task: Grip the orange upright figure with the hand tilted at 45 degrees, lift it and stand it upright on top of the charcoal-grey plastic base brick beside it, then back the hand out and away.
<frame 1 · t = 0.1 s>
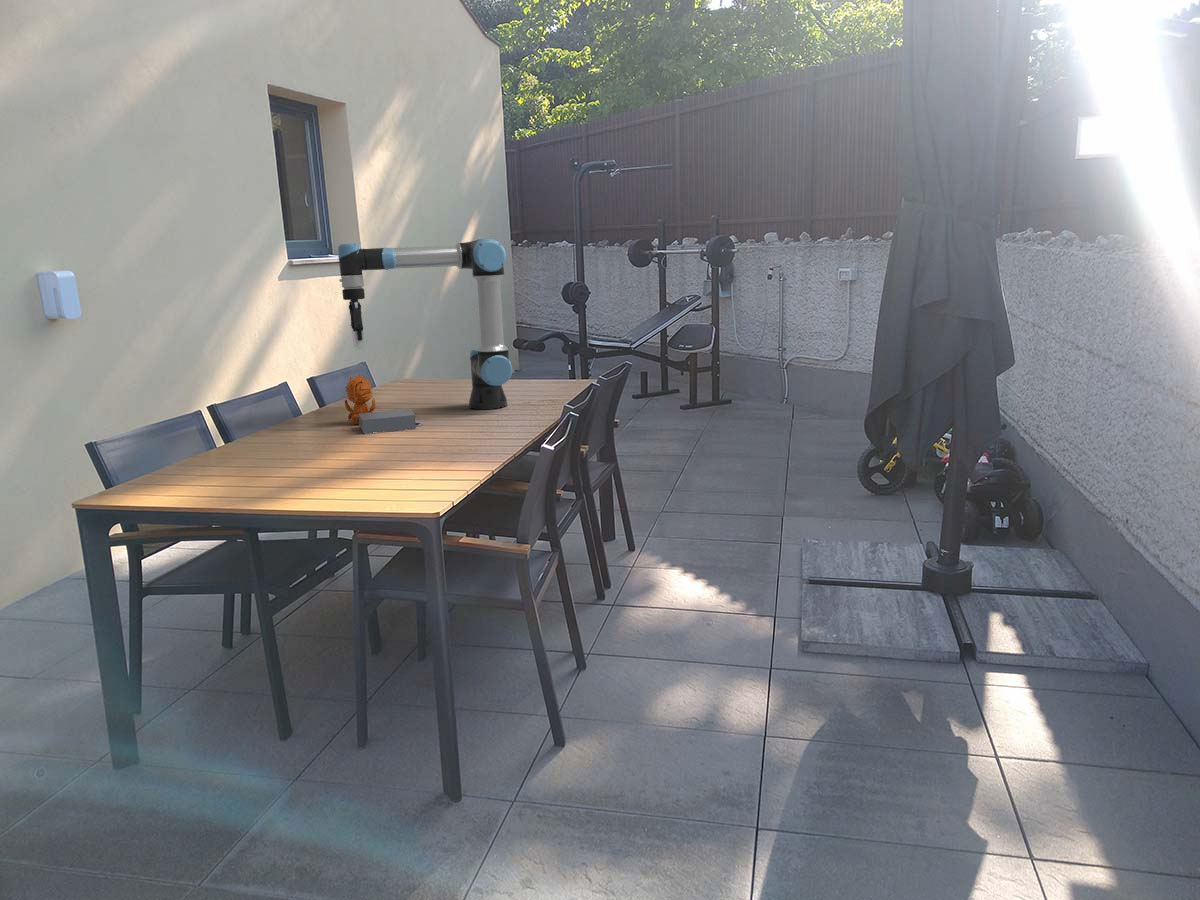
hand: (359, 348, 324), 28 cm above the table, tool pointing down, fingers open, 13 cm apart
orange upright figure: (362, 423, 333), on the table
base brick: (387, 428, 322), on the table
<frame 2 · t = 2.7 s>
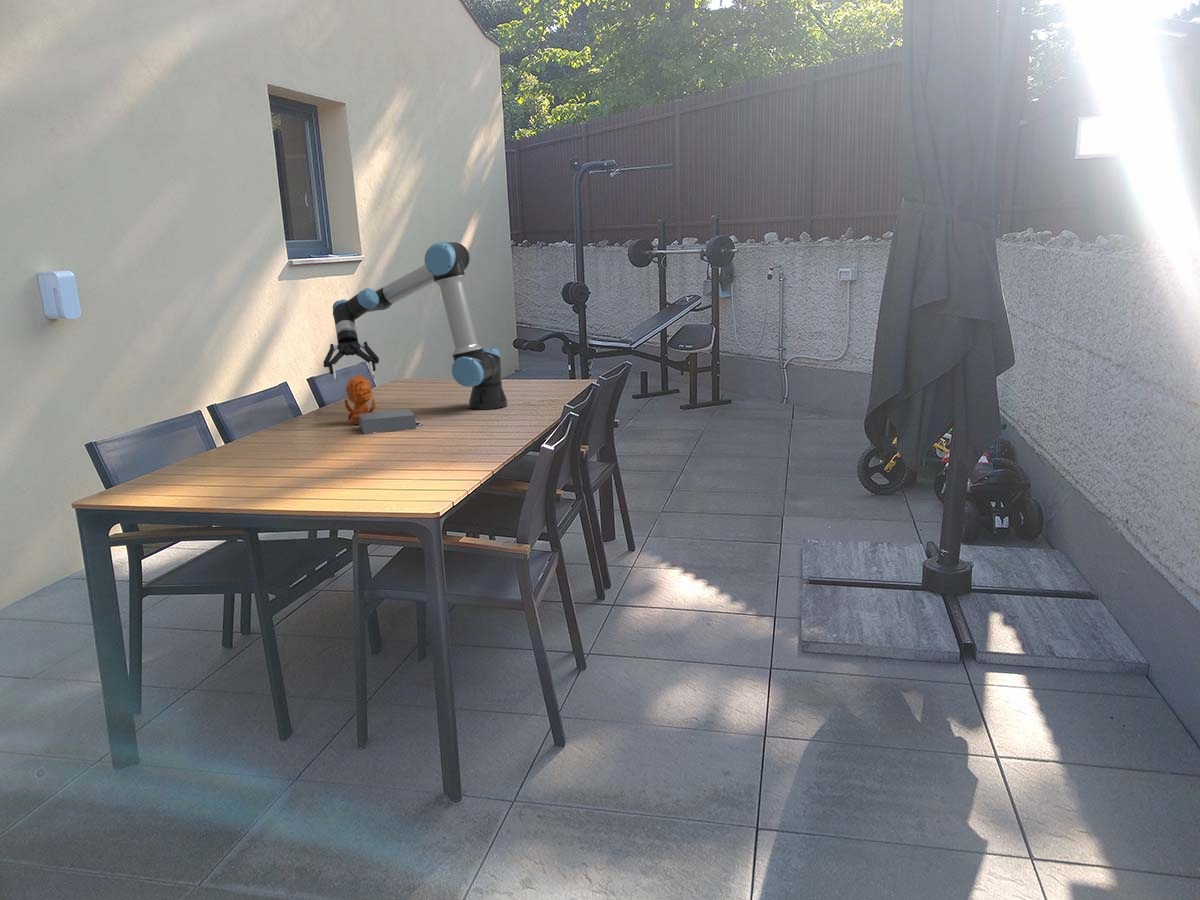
hand: (354, 378, 337), 16 cm above the table, tool tilted 45°, fingers open, 13 cm apart
nothing on the table moved.
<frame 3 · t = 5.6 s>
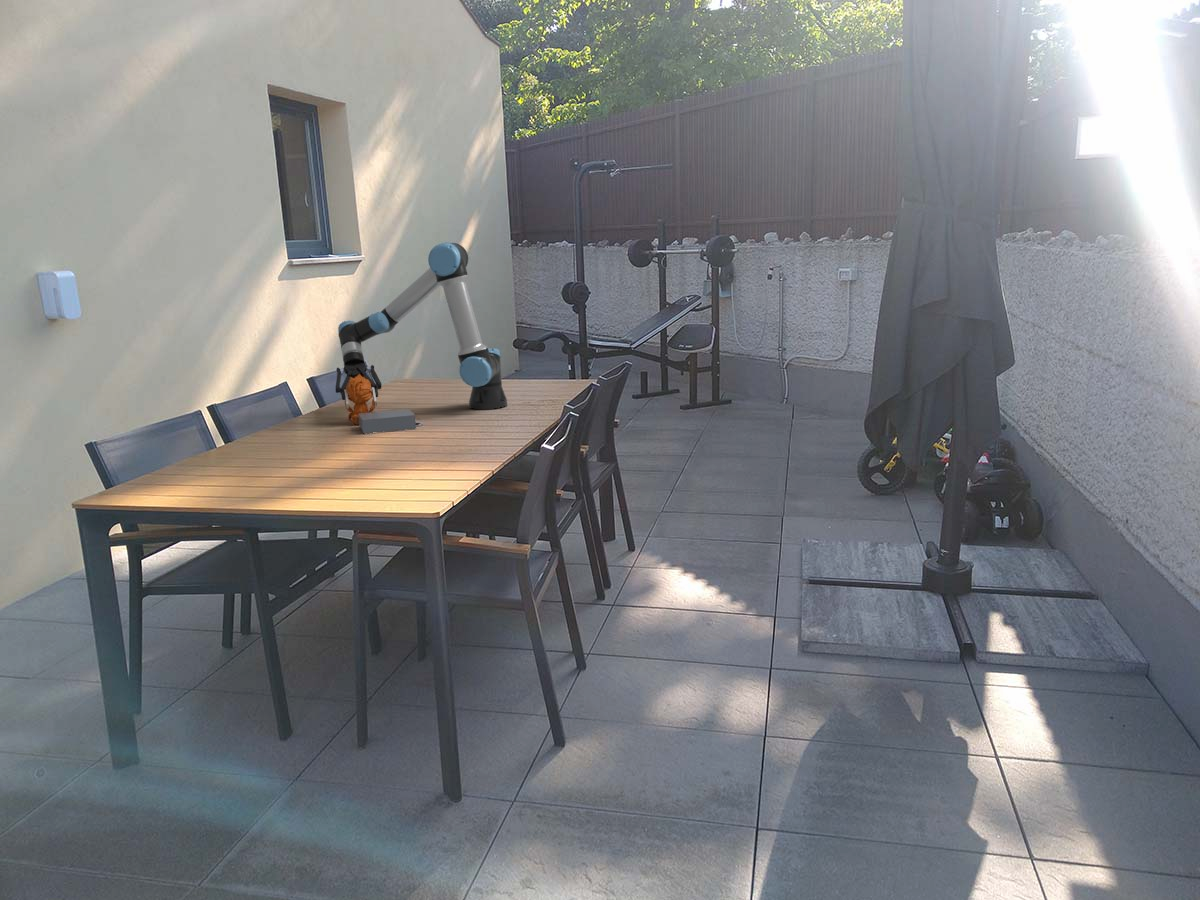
hand: (361, 404, 328), 7 cm above the table, tool tilted 45°, fingers closed on orange upright figure, 9 cm apart
orange upright figure: (362, 423, 333), on the table, touching gripper
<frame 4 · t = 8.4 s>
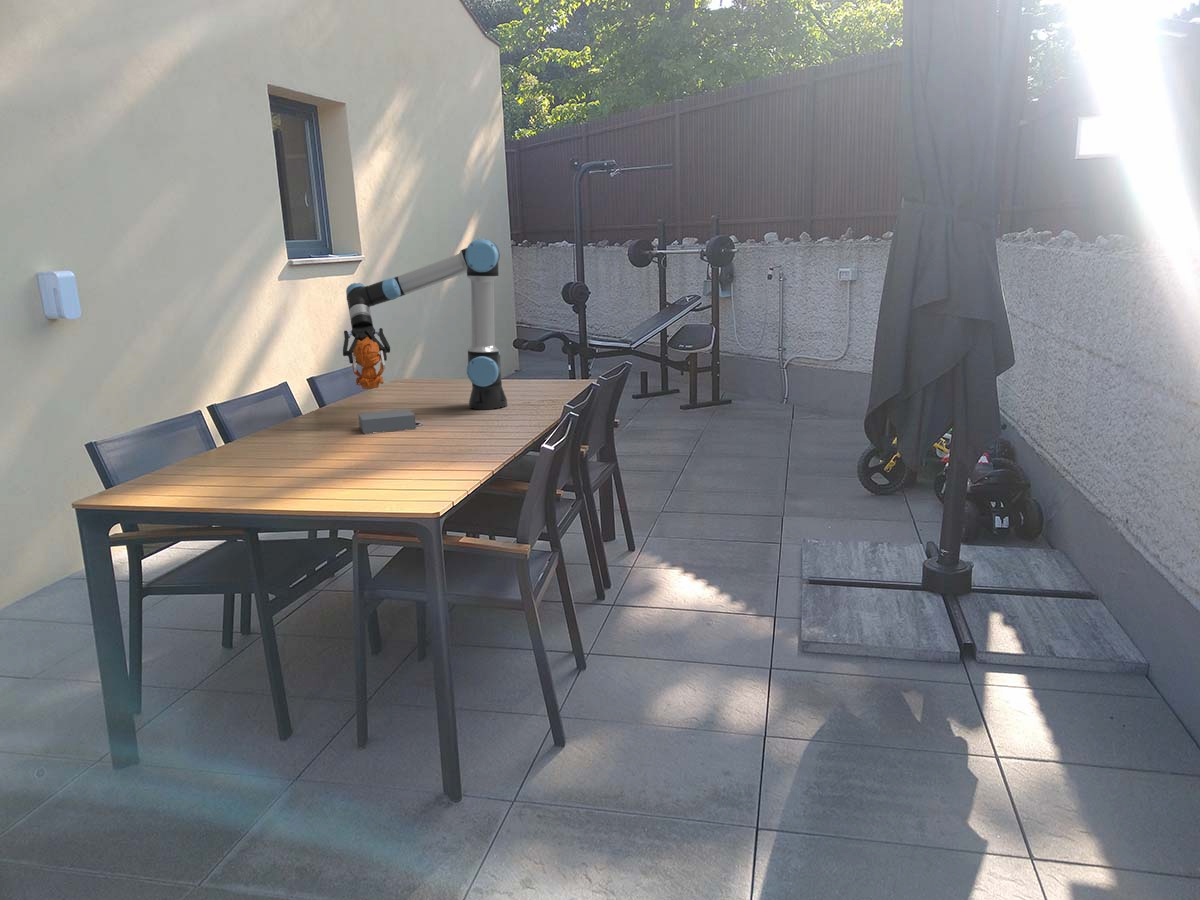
hand: (369, 368, 318), 21 cm above the table, tool tilted 45°, fingers closed on orange upright figure, 9 cm apart
orange upright figure: (370, 388, 323), point 14 cm above the table, touching gripper
when the fingers open (14 cm above the table, at t = 11.2 s): orange upright figure drops 1 cm, resting on base brick.
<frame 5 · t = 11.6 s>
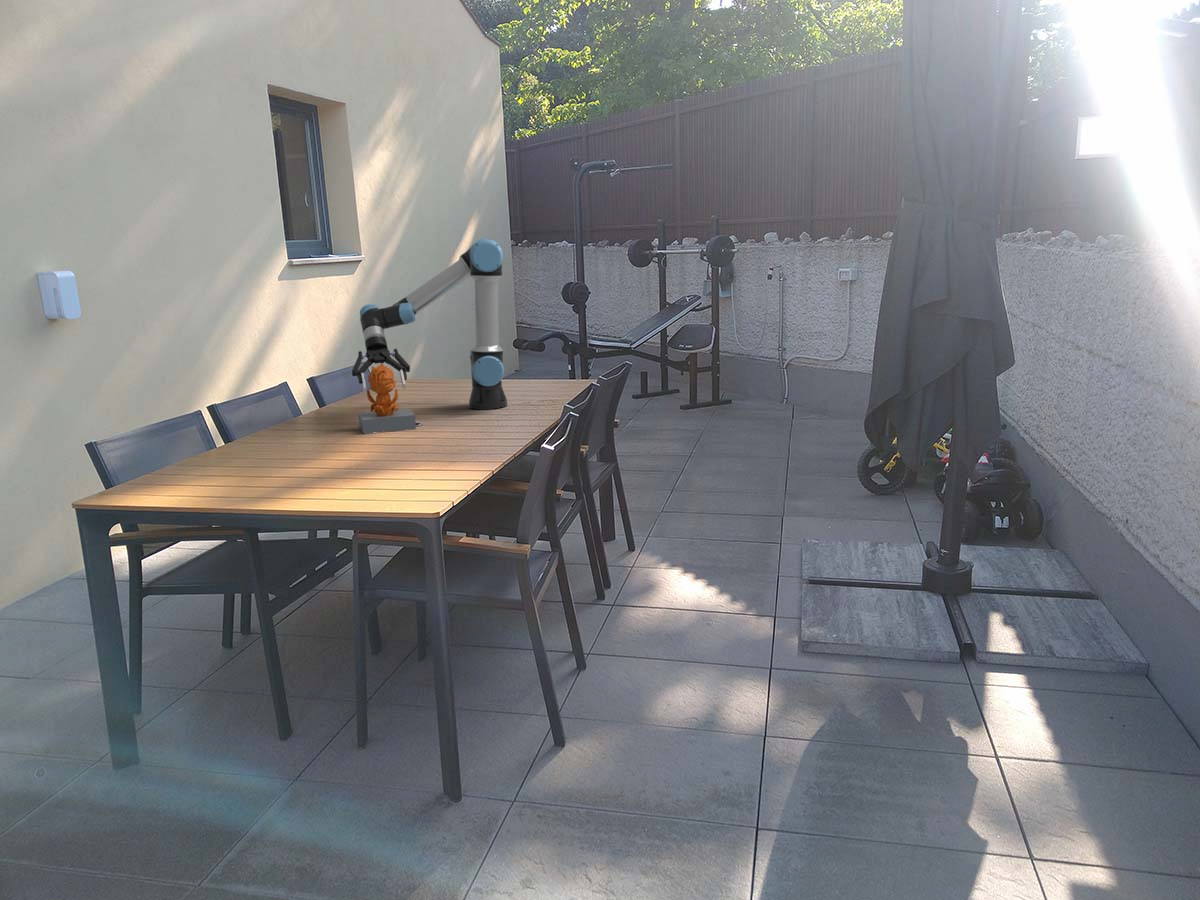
hand: (384, 388, 316), 15 cm above the table, tool tilted 45°, fingers open, 13 cm apart
orange upright figure: (385, 414, 320), point 5 cm above the table, touching base brick
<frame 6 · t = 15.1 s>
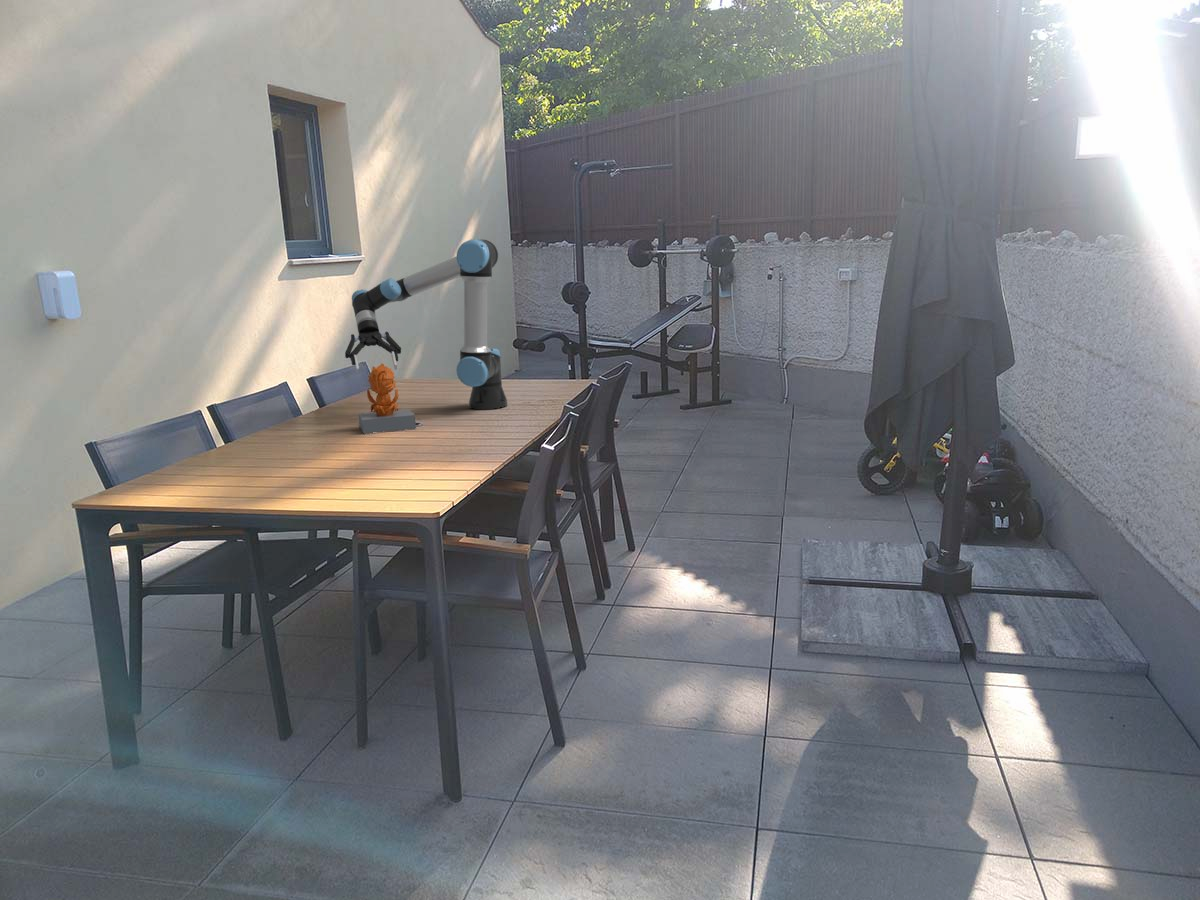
hand: (377, 369, 329), 20 cm above the table, tool tilted 45°, fingers open, 13 cm apart
nothing on the table moved.
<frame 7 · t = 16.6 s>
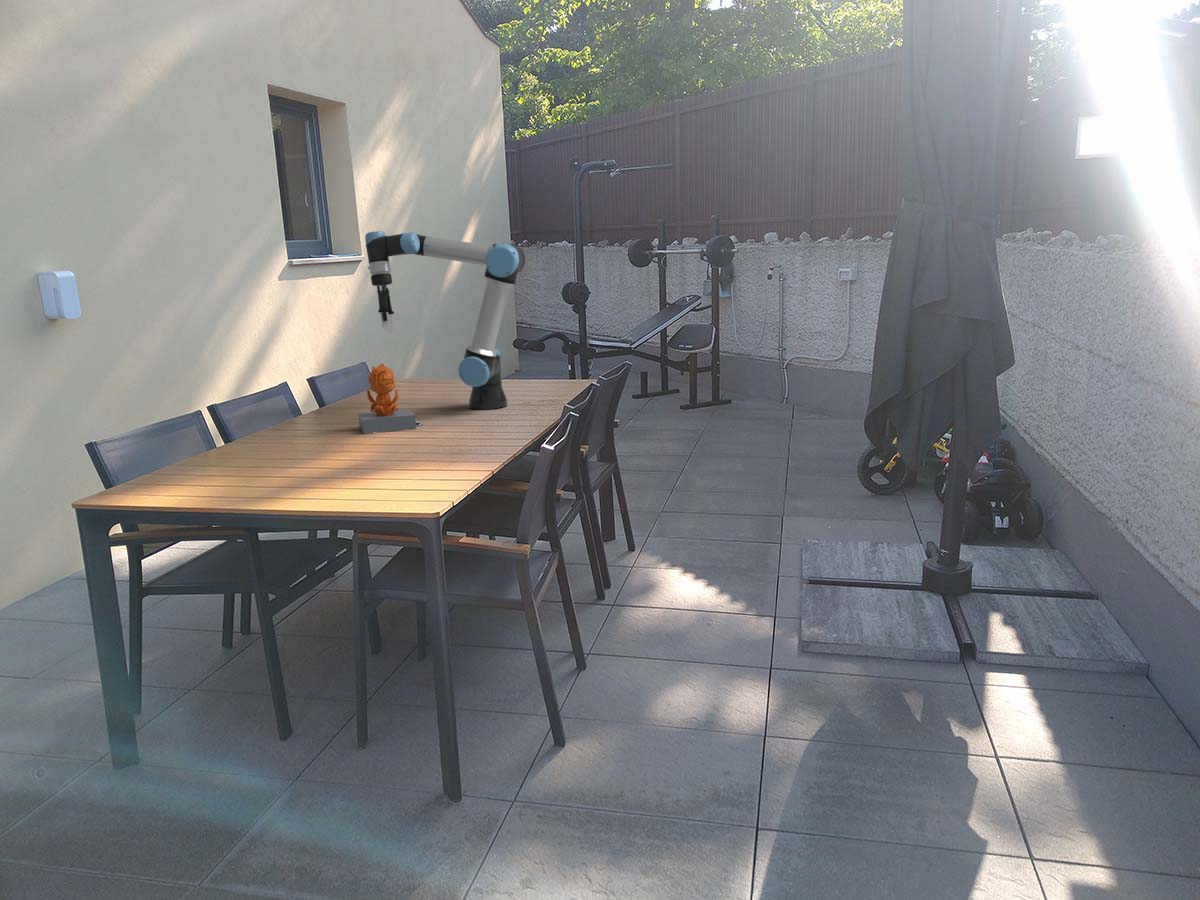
hand: (389, 331, 340), 32 cm above the table, tool pointing down, fingers open, 13 cm apart
nothing on the table moved.
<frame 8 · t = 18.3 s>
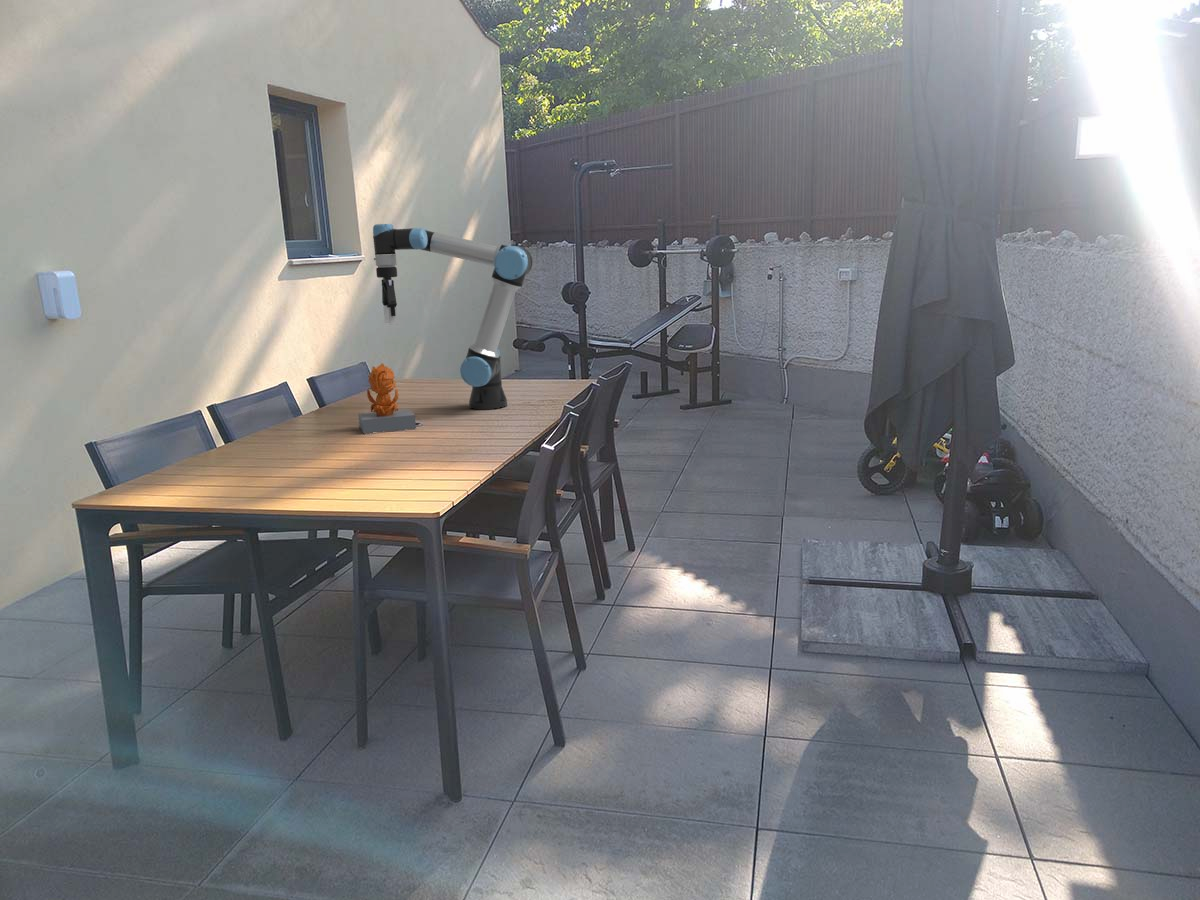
hand: (391, 323, 341), 35 cm above the table, tool pointing down, fingers open, 13 cm apart
nothing on the table moved.
at the end: orange upright figure inside the target area on the base brick (0.3 cm from its centre), point 4.8 cm above the base brick's base; orange upright figure tilted 0°; the gripper is holding nothing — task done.
